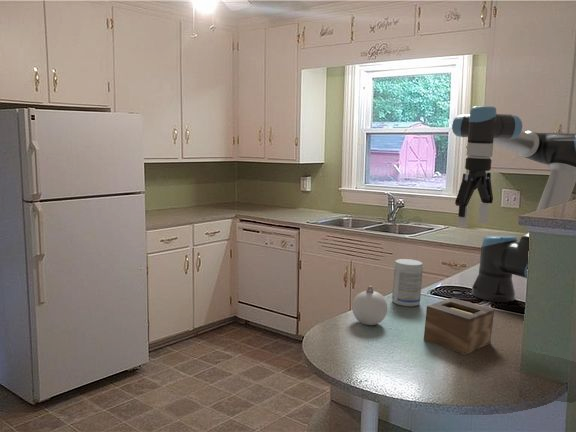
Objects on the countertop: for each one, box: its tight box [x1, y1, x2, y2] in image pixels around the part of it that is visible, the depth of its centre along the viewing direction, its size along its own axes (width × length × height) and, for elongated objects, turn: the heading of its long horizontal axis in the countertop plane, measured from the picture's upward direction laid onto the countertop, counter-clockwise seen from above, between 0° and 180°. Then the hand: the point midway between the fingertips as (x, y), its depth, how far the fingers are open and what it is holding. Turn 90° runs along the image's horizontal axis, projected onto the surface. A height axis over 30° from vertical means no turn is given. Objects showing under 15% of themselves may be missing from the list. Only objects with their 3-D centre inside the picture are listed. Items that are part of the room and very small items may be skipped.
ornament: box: [352, 285, 388, 326], centre depth 162 cm, size 10×10×12 cm
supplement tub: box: [391, 258, 423, 307], centre depth 185 cm, size 10×10×15 cm
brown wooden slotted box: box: [423, 297, 495, 356], centre depth 152 cm, size 14×13×10 cm
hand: (472, 225), depth 169 cm, fingers open, 13 cm apart
